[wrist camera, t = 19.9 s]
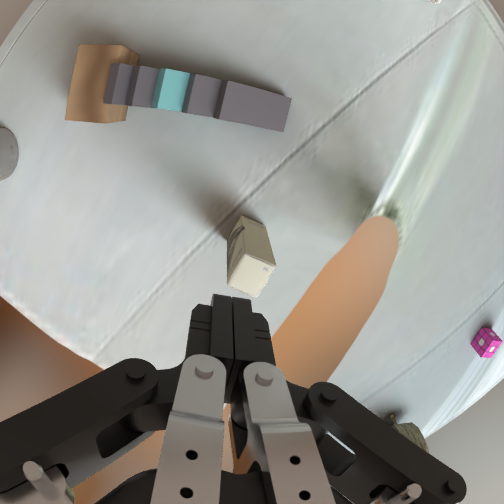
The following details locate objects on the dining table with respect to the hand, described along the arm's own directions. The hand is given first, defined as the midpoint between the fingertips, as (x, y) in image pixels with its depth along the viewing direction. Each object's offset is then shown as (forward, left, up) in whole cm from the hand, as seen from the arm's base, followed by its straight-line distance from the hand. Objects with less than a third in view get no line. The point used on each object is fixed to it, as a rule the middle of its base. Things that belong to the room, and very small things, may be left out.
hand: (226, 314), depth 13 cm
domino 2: (-7, +9, -34) cm, 36 cm away
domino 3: (-3, +9, -34) cm, 36 cm away
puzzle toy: (+73, -25, -35) cm, 85 cm away
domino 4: (+2, +9, -34) cm, 35 cm away
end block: (-19, +9, -35) cm, 41 cm away
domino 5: (+6, +9, -34) cm, 36 cm away
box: (+5, -10, -35) cm, 37 cm away
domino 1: (-11, +9, -35) cm, 37 cm away
